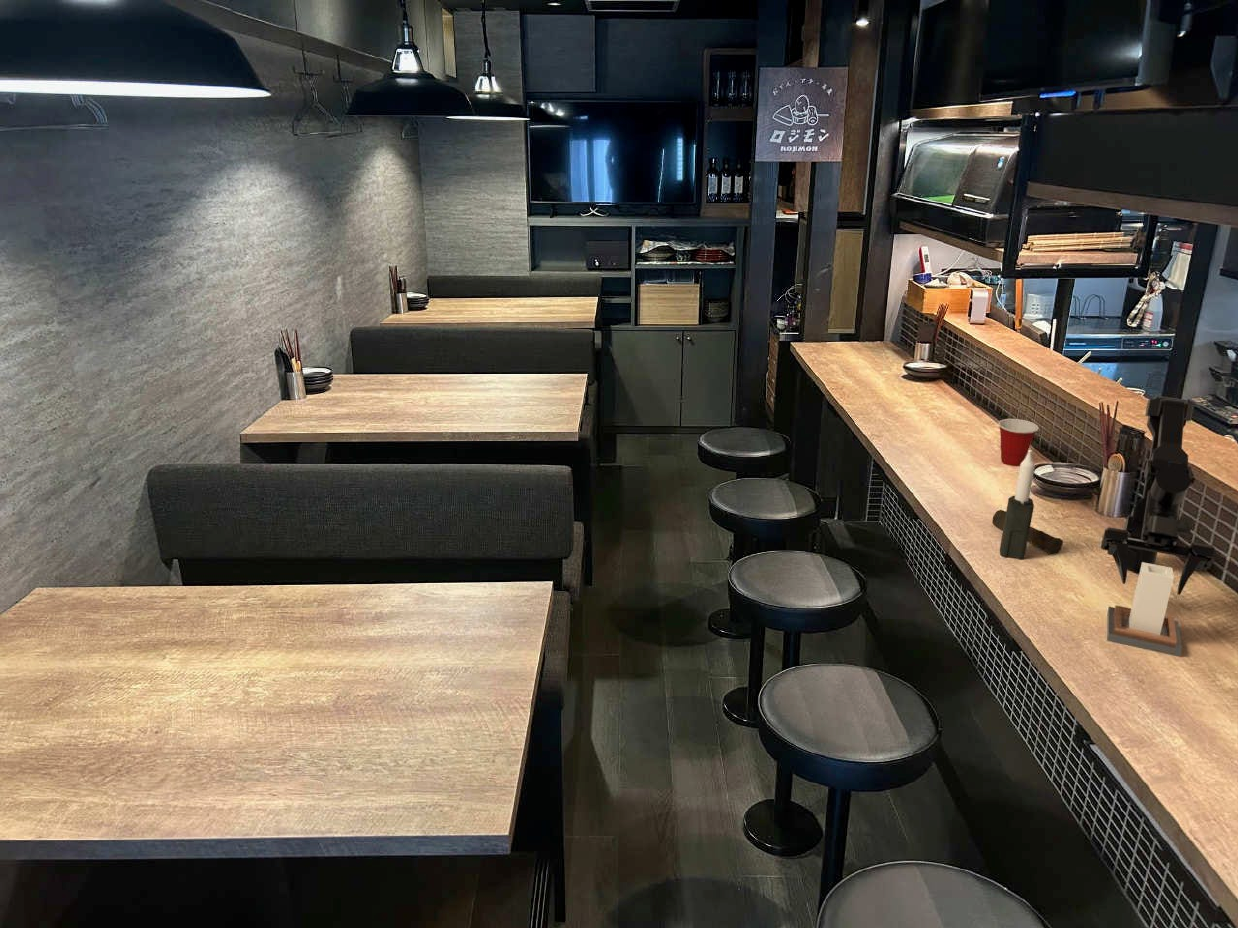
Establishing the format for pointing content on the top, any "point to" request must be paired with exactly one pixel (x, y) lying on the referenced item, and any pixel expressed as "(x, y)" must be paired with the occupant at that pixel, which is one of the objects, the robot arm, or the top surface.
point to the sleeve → (1151, 598)
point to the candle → (1019, 513)
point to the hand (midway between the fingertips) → (1151, 588)
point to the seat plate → (1143, 633)
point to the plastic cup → (1015, 440)
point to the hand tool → (1033, 535)
